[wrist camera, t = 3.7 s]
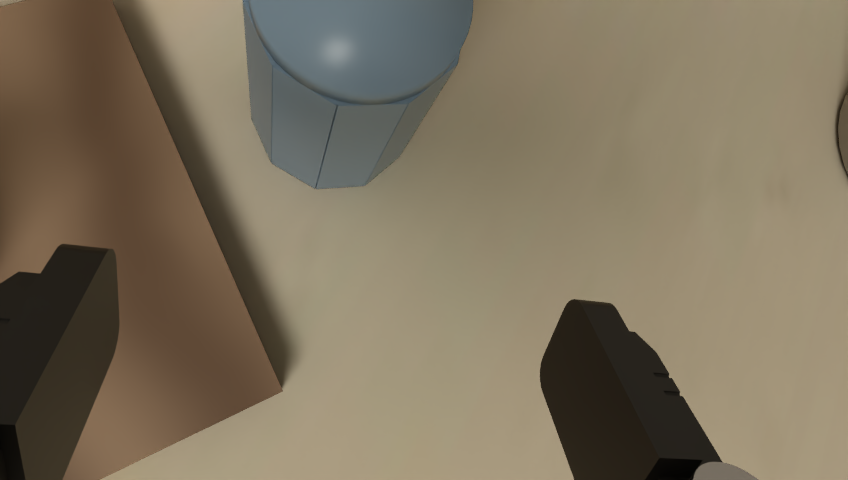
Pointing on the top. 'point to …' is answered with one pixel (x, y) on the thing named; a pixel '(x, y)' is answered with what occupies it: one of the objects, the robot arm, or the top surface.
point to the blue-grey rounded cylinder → (347, 80)
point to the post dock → (120, 230)
